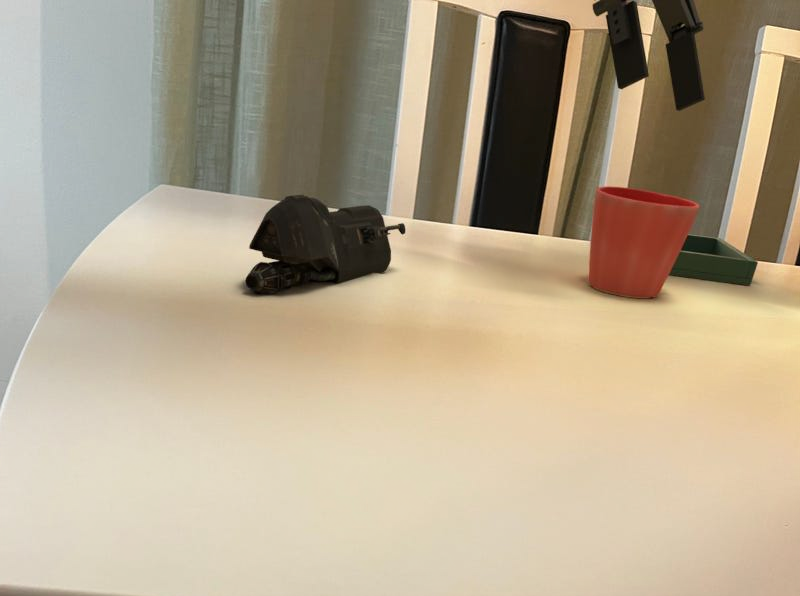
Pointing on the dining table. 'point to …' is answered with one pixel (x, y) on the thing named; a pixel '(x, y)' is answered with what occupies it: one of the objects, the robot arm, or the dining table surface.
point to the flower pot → (636, 239)
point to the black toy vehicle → (318, 244)
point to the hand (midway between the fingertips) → (663, 94)
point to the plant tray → (713, 261)
